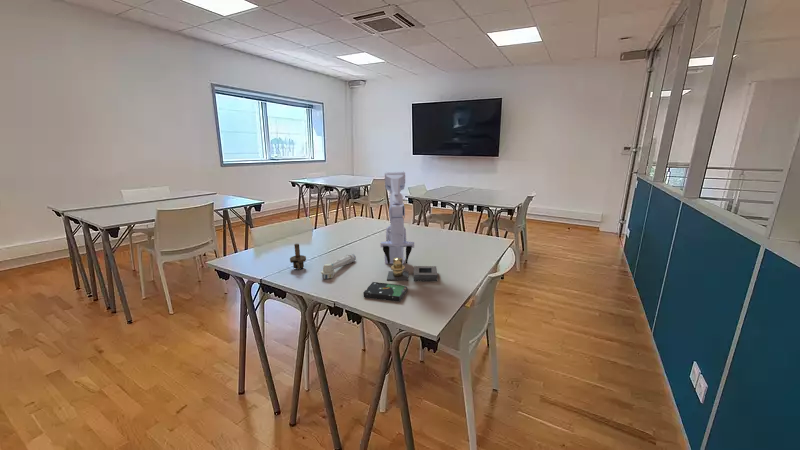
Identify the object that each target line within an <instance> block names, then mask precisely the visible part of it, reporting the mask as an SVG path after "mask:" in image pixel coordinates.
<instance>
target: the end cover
mask: <svg viewBox="0 0 800 450" xmlns="http://www.w3.org/2000/svg"><path fill="white" fill-rule="evenodd" d="M390 269H391V270H390V271H393V276H394V277H401V276H403V271H405V265H404V264H402V258H398V257H397V258H394V259H393V264H392V265H391V266H390Z"/></svg>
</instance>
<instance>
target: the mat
mask: <svg viewBox="0 0 800 450" xmlns="http://www.w3.org/2000/svg"><path fill="white" fill-rule="evenodd" d="M386 281H394V282H396V281H398V282H399V281H402V282H404V281H405V282H406V281H409V271H408V270H407V271H405V270H403V276H401V277H394V276H393V270H388V273H387V276H386Z"/></svg>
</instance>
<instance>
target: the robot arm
mask: <svg viewBox="0 0 800 450" xmlns="http://www.w3.org/2000/svg"><path fill="white" fill-rule="evenodd" d="M405 184H406V172H405V171H404V170H403V171H385V172H384V187H385V190H387V191H388V192H389V194H390V195H389V206H388V212H389V213H388V216H389V217H388V218H389V223H390V224H389V225H388V226H387V227H386V230H385V237H386V238H385V240H386V241H380V245H379V246H380V248H382V251H383V253H384V264H385V265H386V264H387V265H389V264H392V265H393V259H394V258H397V257H398V258H402V265H404V264H408V261H409V257H410V254H411V253H412V250H413V248H415V241H407V230H406V227H405V218H406V207H405V204H404V200H403V199H404V198H403V197H404V196H403V194H402V193H401V191H403V190H405V186H406V185H405ZM404 249H405V250H404ZM404 251H405V253H404Z"/></svg>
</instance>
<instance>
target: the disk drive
mask: <svg viewBox="0 0 800 450" xmlns="http://www.w3.org/2000/svg"><path fill="white" fill-rule="evenodd" d="M407 292H408V286H407V285H403V284H395V283H386V282H376V281H372V282H371V284H369V285H368V287H367V289H364V291H363V295H362V296H363V298H364V297H365V299H372V300H373V299H374V300H381V301H389V302H396V303H401V301H402V300H403V298H404V297H405V295H406V294H407Z"/></svg>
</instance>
